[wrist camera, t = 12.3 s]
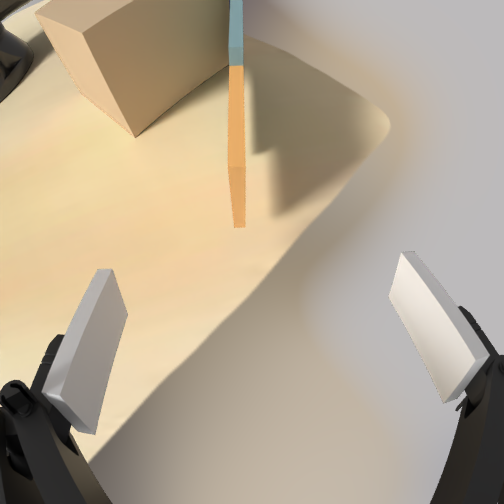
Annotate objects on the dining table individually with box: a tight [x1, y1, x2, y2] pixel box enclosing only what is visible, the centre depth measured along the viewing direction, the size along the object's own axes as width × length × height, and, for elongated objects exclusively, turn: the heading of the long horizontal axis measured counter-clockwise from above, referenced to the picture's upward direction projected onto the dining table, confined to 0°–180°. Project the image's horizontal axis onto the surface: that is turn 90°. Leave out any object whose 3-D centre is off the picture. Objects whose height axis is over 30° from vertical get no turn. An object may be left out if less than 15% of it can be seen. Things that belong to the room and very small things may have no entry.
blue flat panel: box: [228, 0, 246, 228], centre depth 21 cm, size 1×21×12 cm, turn 2°
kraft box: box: [35, 0, 230, 138], centre depth 23 cm, size 12×14×14 cm
